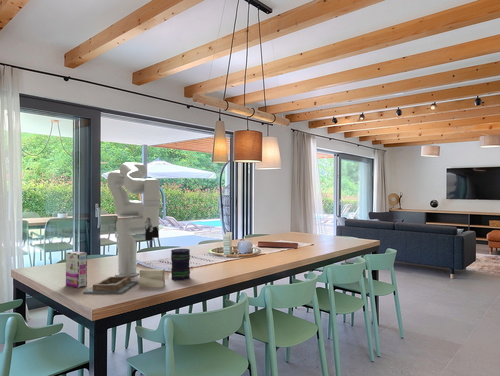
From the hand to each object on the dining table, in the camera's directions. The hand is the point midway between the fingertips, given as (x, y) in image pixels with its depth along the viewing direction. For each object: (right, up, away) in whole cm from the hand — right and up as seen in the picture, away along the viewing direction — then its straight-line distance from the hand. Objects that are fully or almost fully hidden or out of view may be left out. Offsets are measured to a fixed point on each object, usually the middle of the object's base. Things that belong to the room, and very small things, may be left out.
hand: (152, 239), depth 175 cm
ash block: (0, -23, 0) cm, 23 cm away
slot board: (-18, -23, -3) cm, 29 cm away
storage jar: (+11, -23, +15) cm, 30 cm away
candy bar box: (-38, -24, +2) cm, 45 cm away
